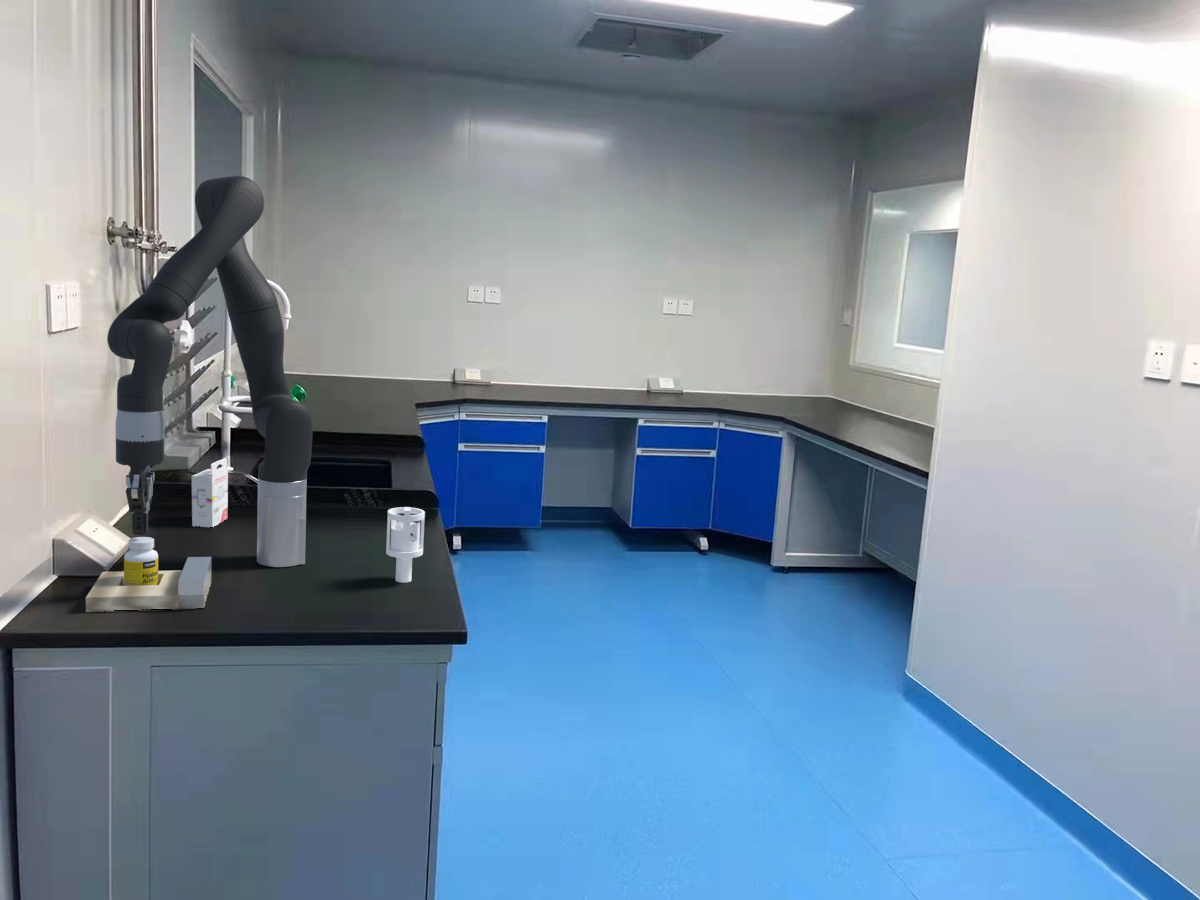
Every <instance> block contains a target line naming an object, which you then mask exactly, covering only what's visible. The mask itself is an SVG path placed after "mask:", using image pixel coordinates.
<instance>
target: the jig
mask: <svg viewBox="0 0 1200 900" xmlns="http://www.w3.org/2000/svg"><path fill="white" fill-rule="evenodd" d="M211 584H212V556H188V557H187V559H186V561H185V563H184V565H183V569H182V570H179V569H178V570H176V569H175V570H158V585H138V586H124V570H121V571H102V572H101V573H100V576H99V577H97V580H96V581H95V582H94V585H93V586H92V587H91V589H90V591H89V592H88V594H87V595H86V597H85V613H96V612H97V613H100V612H102V613H103V612H104V611H105V612H115V611H114V610H138V611H151V610H150V609H172V610H193V609H194V610H196V608H197V609H198V608H204V609H205V605H206V603H205V602H207V598H208V596H207V595H209V592H210V589H209V588H211ZM142 609H144V610H142ZM145 609H146V610H145ZM147 609H149V610H147ZM105 612H104V613H105Z"/></svg>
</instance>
